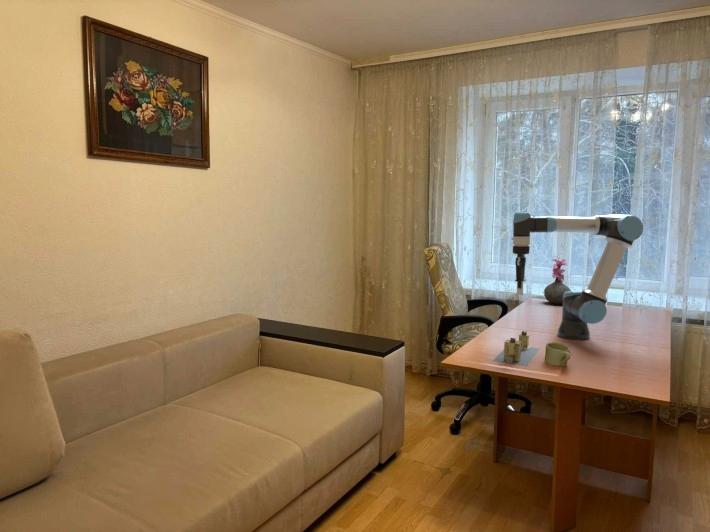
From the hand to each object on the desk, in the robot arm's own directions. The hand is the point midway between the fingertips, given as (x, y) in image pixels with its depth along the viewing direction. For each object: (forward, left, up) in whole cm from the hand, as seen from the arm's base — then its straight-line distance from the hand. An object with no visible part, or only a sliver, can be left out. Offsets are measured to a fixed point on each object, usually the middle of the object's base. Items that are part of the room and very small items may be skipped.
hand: (519, 294), depth 249 cm
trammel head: (-4, +31, -23) cm, 39 cm away
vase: (0, -115, -24) cm, 118 cm away
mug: (-22, +26, -24) cm, 42 cm away
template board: (-4, +21, -24) cm, 32 cm away
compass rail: (-4, +21, -24) cm, 32 cm away
